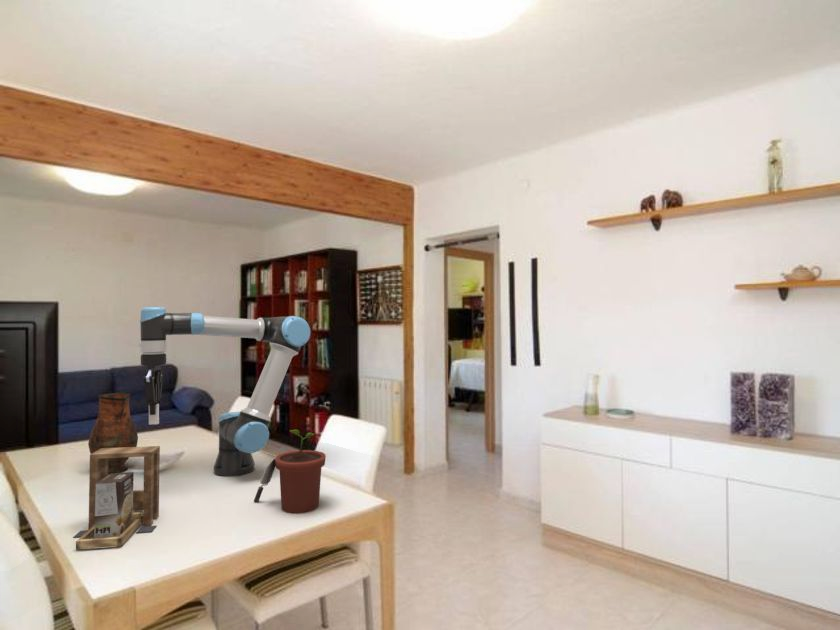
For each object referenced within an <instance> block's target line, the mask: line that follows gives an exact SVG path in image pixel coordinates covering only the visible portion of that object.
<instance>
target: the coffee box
mask: <svg viewBox="0 0 840 630" xmlns="http://www.w3.org/2000/svg"><path fill="white" fill-rule="evenodd" d="M134 476H135V475H134V471H132V472H131V471H129V472H126V471H124V472H121V473H111V474H108V475H107V476H106V477H104V478H103V479H101V480H99V481H98V482H96V483H95V484H96V490H95V528H94V537H93V539H95V538H109V537H119V536H120V535H121V534H122V533H123V532H124V531H125V530H126V529H127V528H128V527H129V526H130V525H131V524H132V523H133V513H134V511H133V490H134V478H135V477H134Z"/></svg>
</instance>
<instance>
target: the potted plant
mask: <svg viewBox="0 0 840 630" xmlns="http://www.w3.org/2000/svg"><path fill="white" fill-rule="evenodd" d="M289 432H290V433H291V434H294V435H296V436H298V437H299V438H300V441H301V442H300V448H299V449H300V450H292V451H288V452H287V451H286V452H283V453H281V454H278V455H276V456H274V458H272V460H270V462H269V463H268V464H267V465H266V467H265V468H264V471H263V474H262V477H261V479H260V484H261V485H260V486H259V487H258V489H257V492H256V494H255V496H254V500H253V502H254V503H256V502H257V503H259V501H260V499H261V495H262V493H263V490H264V487H265V486H268V485H269V483H270V482H271V480H272V477H273V474H274V472H275V469H277V470H278V471H279V484H280V485H279V486H280V487H279V488H280V505H281V508H280V509H281V510H282V511H283V512H284V513H287V514H299V515H300V514H305V513H311V512H312V511H315V510H317V509H318V508H319V506H320V495H321V494H320V492H321V491H320V490H321V478H322V477H321V476H322V468H323V467H325V465H326V458H327V456H326V453H324V452H322V451H318V450H309V449H303V441H304V440H305V439H307V438H311V437H312V436H315V435H316V433H312V432H308V433H306V435H305V437H303V436H302V435H300V430H298V429H292V430H290V429H289Z"/></svg>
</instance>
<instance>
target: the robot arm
mask: <svg viewBox="0 0 840 630" xmlns="http://www.w3.org/2000/svg"><path fill="white" fill-rule="evenodd" d="M139 322H140V325H139V326H140V343H139V344H138V345H139V347H140V353H141V355H140V365H141V366H142V367H143V366H144V367H145V366H146V371H145V375H143V377H142V379H143V382H144V383H143V384H144V392H145V393H144V394H145V406H148V425H159V424H160V404H162V403H163V401H162V392H163V391H162V390H163V378H164V371H163V370H162V369H161V366H164V365H166V364H167V354H166V352H167V336H173V335H174V336H175V335H176V336H178V335H179V336H180V335H181V336H182V335H183V336H184V335H185V336H186V335H192V336H193V335H194V336H209V337H210V336H212V337H228V338H229V337H231V338H242V339H243V338H244V339H245V338H246V339H247V338H248V339H255V340H256V341H258V342H266V343H269V346H270V348H271V349H270V352H269V354H268V357H267V360H266V361H265V363H264V366H263V369H262V371H261V373H260V375H259V378H258V380H257V382H256V385H255V387H254V389H253V392H252V395H251V397H250V398H249V399H250V400H249V401H248V404H247V407H245V408H244V409H242V410H240V411H234V412H225V413H221V414H220V415H219V419H218V420H219V421H218V454H217V456H216V458H215V462H214V465H213V474H215V475H216V476H220V477H236V476H241V475H246V474H249V473H251V472H253V471H254V470H255V460H254V456H253V454H255V453H257V452H259V451H260V450H262V449H263V448H265V446H266V444H267V443H268V441H269V438H270V431H269V426H270V424H271V418H270V413H271V410H272V409H273V406H274V404H275V403H274V402H275V401H276V399H277V395H278V394H279V390H280V389H281V386H282V384H283V381H284V379H285V376H286V374H287V371H288V370H289V366H290V364H291V361H292V359H293V357H295V356H297V355H299V352H300V350H301V347H302V346H304V345H305V344H307V343H308V341H309V340H310V338H311V327H310V325H309V323H308V322H307V321H306V320H305V318H302V317H300V316H296V315H289V316H276V317H275V316H274V317H258V318H257V319H251V318H240V317H239V318H238V317H227V316H226V317H225V316H213V315H203V313H199V312H177V313H176V312H172V313H171V312H167V308H166V307H162V306H161V307H160V306H146V307H145V306H144V307H142V308H141V310H140V320H139Z"/></svg>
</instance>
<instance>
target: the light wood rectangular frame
mask: <svg viewBox="0 0 840 630" xmlns="http://www.w3.org/2000/svg"><path fill="white" fill-rule="evenodd" d="M143 492H144V489H133V523H132V524H131V525H130V526H129V527H128V528H127V529H126V530H125V531H124V532H123V533H122V534H121V535H120V536H119V537H109V538H95V539H94V528H95V525H94V526H93V527H92V528H91V529H89V528H88V529H87V530H88V531H87V532H86V533H85V534H84V535H83V536H82V537H80V538H77V540H76V541H75V550H85V549H86V550H87V549H96V548H97V549H98V548H99V549H100V548H110V547H111V548H112V547H114V548H115V547H122V546H123V545H124V544H125V543H126V542H127V541H128V540H129V538H130V537H131V536H132V535H133V534H134V533H135V532H136V531H137V529H138V528H139V527H141V526H142V525H143ZM140 511H141V512H140Z"/></svg>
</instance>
